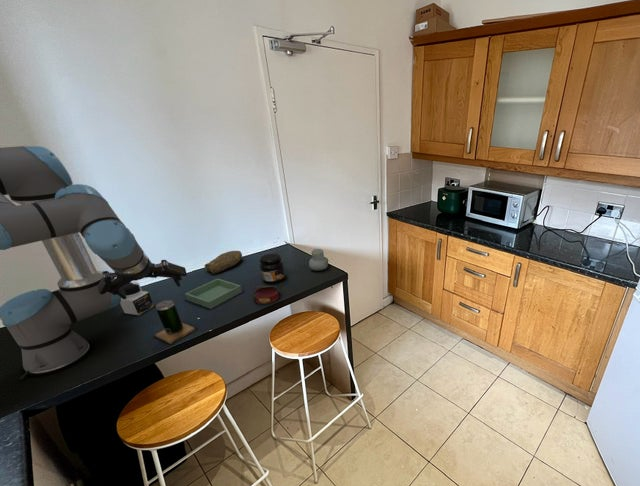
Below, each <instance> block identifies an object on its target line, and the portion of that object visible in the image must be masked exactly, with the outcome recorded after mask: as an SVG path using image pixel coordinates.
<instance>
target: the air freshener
mask: <svg viewBox="0 0 640 486" xmlns="http://www.w3.org/2000/svg"><path fill="white" fill-rule="evenodd" d="M324 254H325V253H324V250H323V249H322V248H315V249H313V250H311V258H310V260H309V262H308V267H309V269H311V270H312V271H316V272H320V271H321V272H322V271H324V270H326V269H327V268H328V266H329V258H328V257H325V255H324Z"/></svg>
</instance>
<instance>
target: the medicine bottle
mask: <svg viewBox="0 0 640 486" xmlns="http://www.w3.org/2000/svg"><path fill="white" fill-rule="evenodd" d="M122 288H123V289H124V290H125V293H126V298H127V299H122V298H121V302H120V303H119V305H120V307H121V309H122V311H123V313H124V314H127V315H133V316H134V315H135V316H141V315H142V314H143V313H146V312H147V311H149V310H150V309H152V308H153V307H155V304H154V302H153V299H152V297H151V295H150V292H149V291H146V290H145V291H144V290H143V289H142V287H141V284H140V283H139V282H137V281H132V282H130V283H129V284H125V285H124V286H122Z"/></svg>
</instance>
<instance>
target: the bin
mask: <svg viewBox="0 0 640 486" xmlns="http://www.w3.org/2000/svg"><path fill="white" fill-rule="evenodd" d="M241 293H243V289H242V285H240V284H237V283H234V282H230V281H227V280H225V279H221V278H215V279H213V280H211V281H209V282H207V283H205V284H203V285H200V286H198V287H196V288H194V289H192V290H190V291H188V292H185V293H184V296H185V298H186V301H188V302H190V303H193V304H196V305H199V306H201V307H204V308H206V309H210V310H212V309H214V308H215V307H217V306H219V305H221V304H223V303H225V302H227V301H228V300H230V299H232V298H234V297H235V296H237V295H239V294H241Z"/></svg>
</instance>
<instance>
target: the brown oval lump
mask: <svg viewBox="0 0 640 486" xmlns="http://www.w3.org/2000/svg"><path fill="white" fill-rule="evenodd" d="M242 258H243V253H242V251H240V250H229V251H226V252H224V253H220V254H219V255H218V256H216V258H214V259H212V260H210V261H209V262H207V263H205V264H204V268H205V269H206V271H209V272H211V273H212V275H214V274H218V273H220V272H223V271H224V270H226V269H229V268H232V267H233V266H235V265H237V263H240V261H241V259H242Z"/></svg>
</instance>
